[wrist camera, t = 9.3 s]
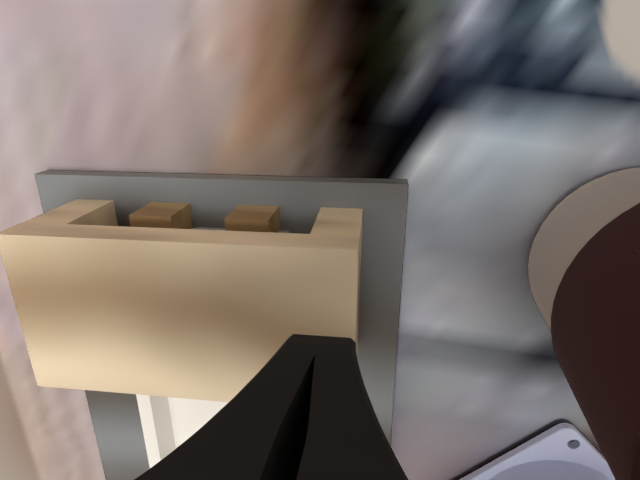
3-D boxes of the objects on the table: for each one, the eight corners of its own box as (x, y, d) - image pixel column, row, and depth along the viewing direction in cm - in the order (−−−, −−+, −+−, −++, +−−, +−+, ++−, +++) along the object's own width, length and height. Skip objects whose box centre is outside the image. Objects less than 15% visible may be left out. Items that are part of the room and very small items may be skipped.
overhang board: (379, 576, 25) (380, 689, 21) (131, 544, 27) (80, 642, 22) (407, 179, 17) (417, 219, 12) (48, 170, 19) (-61, 202, 14)
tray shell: (296, 460, 22) (289, 496, 20) (170, 448, 23) (152, 481, 21) (289, 230, 18) (279, 249, 16) (134, 224, 18) (107, 242, 17)
